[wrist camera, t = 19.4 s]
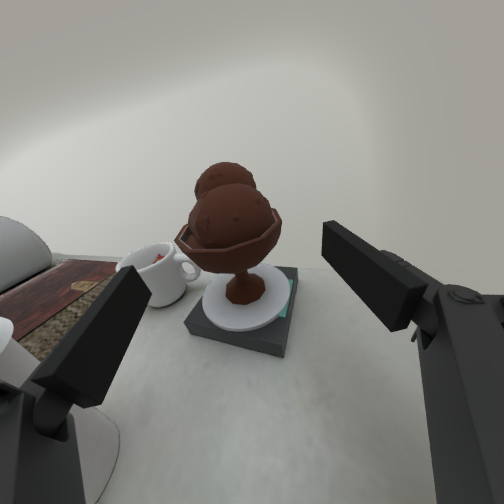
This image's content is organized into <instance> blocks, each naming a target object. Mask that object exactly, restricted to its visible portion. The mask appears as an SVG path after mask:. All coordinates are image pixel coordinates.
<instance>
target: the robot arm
mask: <svg viewBox="0 0 504 504" xmlns="http://www.w3.org/2000/svg"><path fill="white" fill-rule="evenodd" d="M322 256H323V258H324V259H325V260H326V261H327V262H328V263H329V264H330V265H331V266H332V267H333V269H334V270H335V271H336V272H337V273H338V274H339V275H340V276H341V277H342V279H343V280H344V281H345V282H346V283H347V284H348V285H349V286H350V287H351V288H352V290H353V291H354V292H355V293H356V294H357V295H358V296H359V297H360V298H361V300H362V301H363V302H364V303H365V304H366V305H367V306H368V307H369V308H370V310H371V311H372V312H373V313H374V314H375V315H376V316H377V317H378V318H379V319H380V321H381V322H382V323H383V324H384V325H385V326H386V327H387V328H388V329H389V331H390V332H394V331H398V330H402V329H406V328H407V327H408V325H409V323H410V321H411V320H412V321H413V322H414V323H415V324H416V325H418V327H417V328H416V330H415V332H414V334H413V336H412V338H411V342H414V341H415V340H416V338H417V343H418V351H419V359H420V367H421V376H422V384H423V392H424V400H425V408H426V417H427V425H428V433H429V441H430V450H431V458H432V466H433V474H434V482H435V491H436V499H437V504H504V295H481V294H480V293H478V292H476V291H474V290H472V289H469V288H466V287H463V286H459V285H451V284H448V285H444V284H442V283H440V282H439V281H437V280H435V279H434V278H432V277H431V276H429V275H428V274H426V273H424V272H423V271H421V270H420V269H418V268H416V267H415V266H412V265H411V264H410V263H409V262H407V261H404V259H402V258H400V257H399V256H397V255H396V254H394V253H391V252H388V251H385V250H381V251H379V250H377V249H376V248H374V247H373V246H371V245H370V244H368V243H367V242H365V241H364V240H363V239H361V238H360V237H358V236H357V235H355V234H354V233H352V232H351V231H349V230H348V229H346V228H344V227H343V226H342V225H340V224H339V223H337V222H336V221H334V220H332V221H328V222H323V234H322ZM151 296H152V293H151V291H150V290H149V288H148V287H147V285H146V284H145V282H144V281H143V279H142V278H141V276H140V275H139V273H138V272H137V270H136V269H135V267H134V265H130V266H125V267H121V269H120V270H119V271H118V272H117V273H116V275H115V276H114V277H113V278H112V280H111V281H110V282H109V283H108V285H107V286H106V287H105V288H104V289H103V291H102V292H101V293H100V294H99V296H98V297H97V298H96V299H95V301H94V302H93V303H92V304H91V305H90V307H89V308H88V309H87V310H86V312H85V313H84V314H83V315H82V317H81V318H80V319H79V320H78V321H77V323H75V324H74V325H73V326H72V327H71V328H70V329H68V330H67V331H66V332H65V334H64V335H63V336H62V337H61V338H60V340H59V341H58V343H56V344H55V346H54V347H53V348H52V349H51V352H49V353H48V354H47V355H46V357H45V358H44V359H43V360H42V361H41V363H40V364H39V365H38V366H37V367H36V369H35V370H34V371H33V372H32V373H31V375H30V376H29V377H28V378H27V379H26V381H25V382H24V383H23V384H22V385H21V387H20V388H18V387H15V386H13V385H11V384H9V383H7V382H5V381H3V380H1V379H0V504H86V500H85V493H84V486H83V479H82V471H81V464H80V457H79V450H78V443H77V436H76V429H75V421H74V417H73V415H72V414H71V413H69V411H70V409H71V407H72V406H73V404H75V405H77V406H79V407H81V408H83V409H85V408H89V407H93V406H97V405H101V404H102V402H103V400H104V398H105V396H106V394H107V392H108V389H109V387H110V385H111V383H112V381H113V379H114V376H115V374H116V372H117V370H118V368H119V365H120V363H121V361H122V359H123V357H124V355H125V352H126V350H127V348H128V346H129V344H130V342H131V339H132V337H133V335H134V333H135V331H136V329H137V326H138V324H139V322H140V320H141V318H142V316H143V313H144V311H145V309H146V307H147V305H148V303H149V300H150V298H151Z"/></svg>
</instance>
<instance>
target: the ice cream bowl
mask: <svg viewBox="0 0 504 504" xmlns="http://www.w3.org/2000/svg"><path fill="white" fill-rule="evenodd" d="M194 192H195V196H196V199H197V203H196V205H195V206H194V208H193V209H192V211H191V212H190V215H189V219H188V224H186V225H184V226H183V228H182V229H181V230H180V232H179V234H178V235H177V237H176V238H175V240H174V241H175V243H176V244H177V245H178V247H179V248H180V249H181V251H182V252H183V253H184V254H185V255H186V256H187V257H188V258H189V259H191V260H192V261H193V262H194V263H195V264H196V265H197V266H198V267H200V268H201V269H202V270H204V271H207V272H212V273H220V274H234V275H235V277H233V278H232V279H231V280H230V281H229V282H228V283H227V284H226V293H225V297H226V298H227V299H228V300H229V301H230V302H231V303H232V304H238V305H248V304H250V303H252V302H255V301H257V300H259V299H260V298H261V296H262V295H263V293H264V292H265V290H266V288H265V283H264V280H263V278H261V277H260V276H258V275H256V274H255V273H248V269H250V268H253V267H256V266H257V265H258V264H259V263H260V262H261V261H262V260H263V259H264V258H265V257H266V256H267V255H268V253H269V252H270V251H271V250H272V249H273V248H274V246H275V245H276V244H277V241H278V239H279V236H280V233H281V225H282V220H281V218H280V216H279V214H278V212H277V210H276V209H273V208H271V207H270V204H269V202H268V200H267V199H266V198H265V197H263V195H262V194H261V193H260V192H259V191H257V190H256V184H255V182H254V179H253V175H252V173H251V172H249V171H247V170H246V168H244V167H242V166H240V165H239V164H237V163H230V162H221V163H217V164H215V165H212V166H210V167H209V168H208V169H207V170H206V171H205V172H204V173H203V174H201V176H200V178H199V179H198V180H197V183H196V186H195V191H194Z"/></svg>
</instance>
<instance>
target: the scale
mask: <svg viewBox="0 0 504 504" xmlns="http://www.w3.org/2000/svg"><path fill="white" fill-rule="evenodd" d="M248 273H255V274H256V275H258V276H260V277H261V278H263V280H264V283H265V288H266V290H265V292H264V293H263V295H262V296H261V298H260V299H259V300H257V301H255V302H252V303H250V304H248V305H238V304H232V303H231V302H230V301H229V300H228V299H227V298H226V297H225V293H226V284H227V283H228V282H229V281H230V280H231V279H232V278H233V277H235V275H234V274H220V273H219V274H218V275H217V276H216V277H215V278H214V279H213V280H212V281H211V282H210V283H209V284H208V286H207V288H206V289H205V292H204V294H203V296H202V297H201V299H200V300H199V301H198V303H197V304H196V306H195V307H194V308H193V310H192V311H191V313H190V314H189V315H188V317H187V318H186V320H185V321H184V324H185V325H186V327H187V329H188V330H189V332H190V334H194V335H198V336H202V337H205V338H209V339H213V340H217V341H221V342H225V343H229V344H232V345H236V346H240V347H244V348H248V349H252V350H256V351H259V352H263V353H267V354H271V355H275V356H279V357H282V358H283V357H284V353H285V348H286V342H287V337H288V331H289V326H290V320H291V315H292V309H293V304H294V298H295V293H296V287H297V282H298V269H297V268H293V267H279V266H271V265H268V264H264V263H259V264H258V265H257V266H256V267H253V268H250V269H248Z"/></svg>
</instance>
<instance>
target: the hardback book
mask: <svg viewBox="0 0 504 504" xmlns="http://www.w3.org/2000/svg"><path fill="white" fill-rule="evenodd" d="M117 264H118V262H105V261H90V260H76V259H68V260H66V261H65V262H63V263H61V264H59V265H57V266H55V267H53V268H51V269H49V270H47V271H46V272H44V273H42V274H40V275H38V276H36V277H34V278H32V279H30V280H29V281H27V282H25V283H23V284H21V285H19V286H17V287H15V288H13V289H12V290H10V291H8V292H6V293H4V294H2V295H0V317H3V318H6V319H9V320H10V321H11V322H12V323H13V333H12V336H11V337H12V338H13V339H14V340H15V341H16V342H17V343H19V344H20V345H21V346H22V347H23V348H24V349H26V350H27V351H28V352H29V353H30V354H32V355H33V356H34V357H35V358H36V359H37V360H39V361H40V362H41V361H42V360H43V359H44V358H45V357H46V355H47V354H48V353H49V352H51V349H52V348H53V347H54V346H55V344H56V343H58V341H59V340H60V338H61V337H62V336H63V335H64V334H65V332H66V331H67V330H68V329H70V328H71V327H72V326H73V325H74V324H75V323H77V321H78V320H79V319H80V318H81V317H82V315H83V314H84V313H85V312H86V310H87V309H88V308H89V307H90V305H91V304H92V303H93V302H94V301H95V299H96V298H97V297H98V296H99V294H100V293H101V292H102V291H103V289H104V288H105V287H106V286H107V285H108V283H109V282H110V281H111V280H112V278H113V277H114V276H115V275H116V273H117V272H116V265H117Z"/></svg>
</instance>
